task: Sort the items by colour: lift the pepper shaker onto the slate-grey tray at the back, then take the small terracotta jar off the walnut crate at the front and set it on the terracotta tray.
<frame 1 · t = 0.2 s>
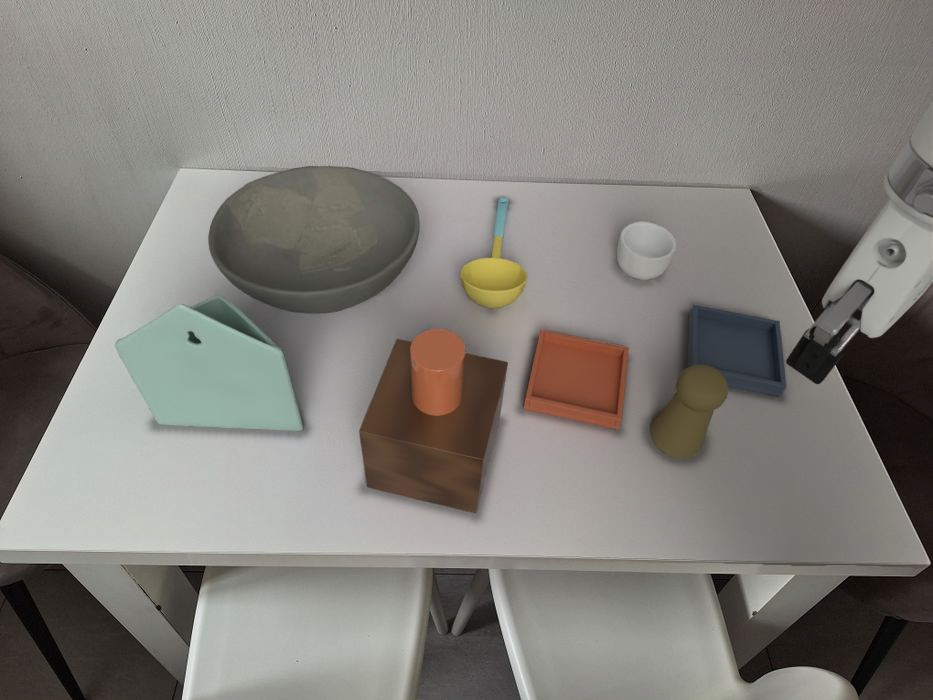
hand: (832, 344, 57), 21 cm above the table, tool pointing down, fingers open, 9 cm apart
terracotta jar: (437, 394, 64), point 11 cm above the table, touching walnut crate
planter: (239, 400, 76), on the table
terracotta tray: (576, 382, 80), on the table
ladle: (496, 256, 94), on the table
slate tray: (731, 354, 84), on the table
teacup: (637, 264, 95), on the table
bowl: (324, 278, 90), on the table
walnut crate: (435, 453, 73), on the table
pepper shaker: (675, 436, 76), on the table
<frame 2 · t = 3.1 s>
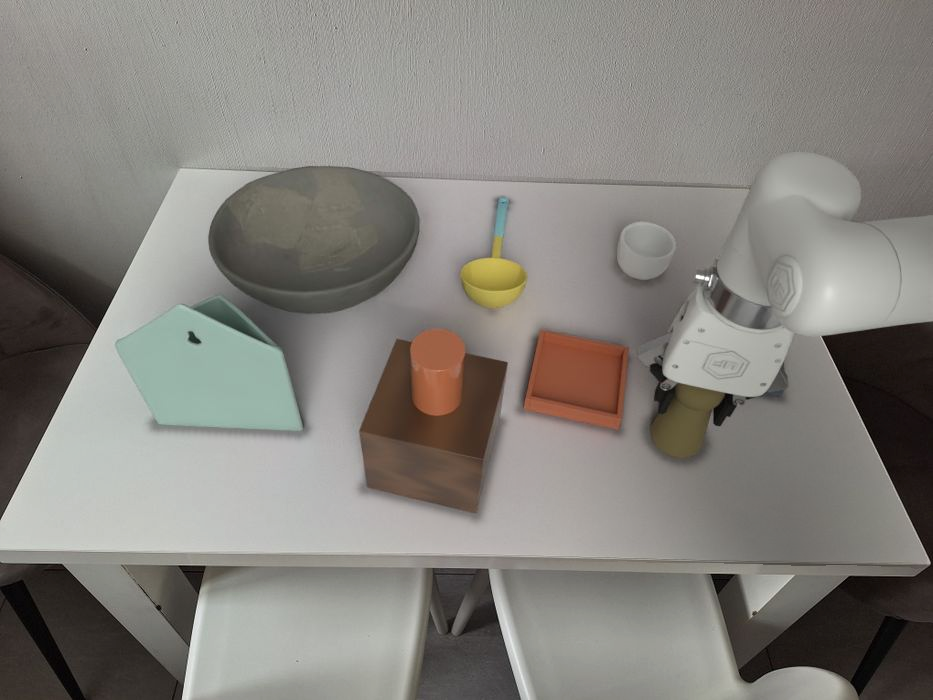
hand: (689, 408, 71), 6 cm above the table, tool pointing down, fingers closed on pepper shaker, 5 cm apart
pepper shaker: (676, 436, 76), on the table, touching gripper
everything else where it was.
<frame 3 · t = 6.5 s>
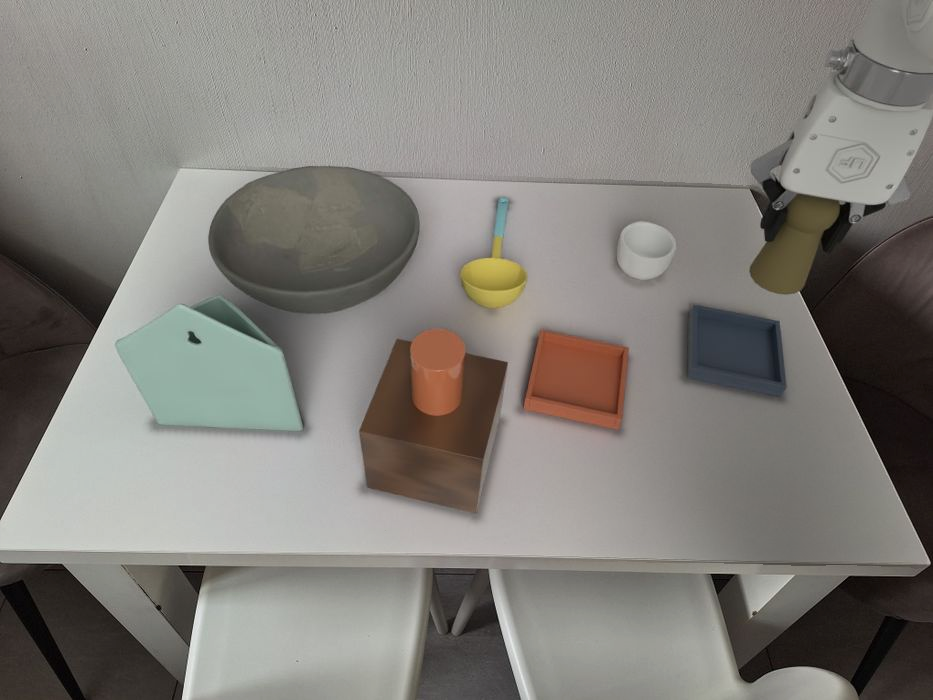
hand: (796, 237, 69), 20 cm above the table, tool pointing down, fingers closed on pepper shaker, 5 cm apart
pepper shaker: (776, 277, 74), point 14 cm above the table, touching gripper
everything else where it was.
when the fingers open (6 cm above the table, at t = 9.8 s): pepper shaker stays where it is, resting on slate tray.
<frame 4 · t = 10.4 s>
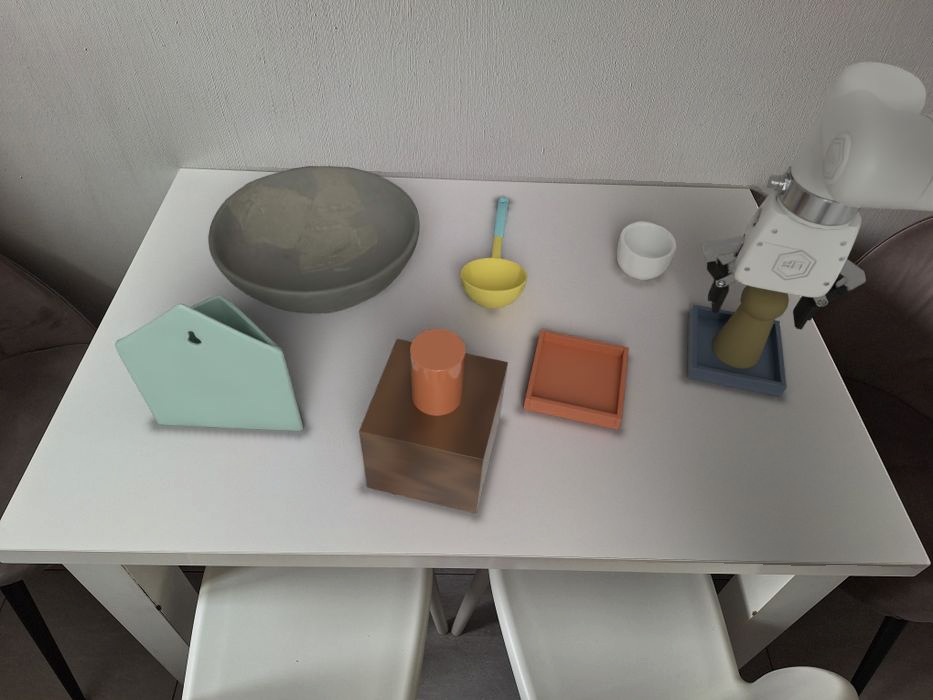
hand: (755, 312, 78), 8 cm above the table, tool pointing down, fingers open, 9 cm apart
pepper shaker: (735, 351, 84), resting on slate tray
everything else where it was.
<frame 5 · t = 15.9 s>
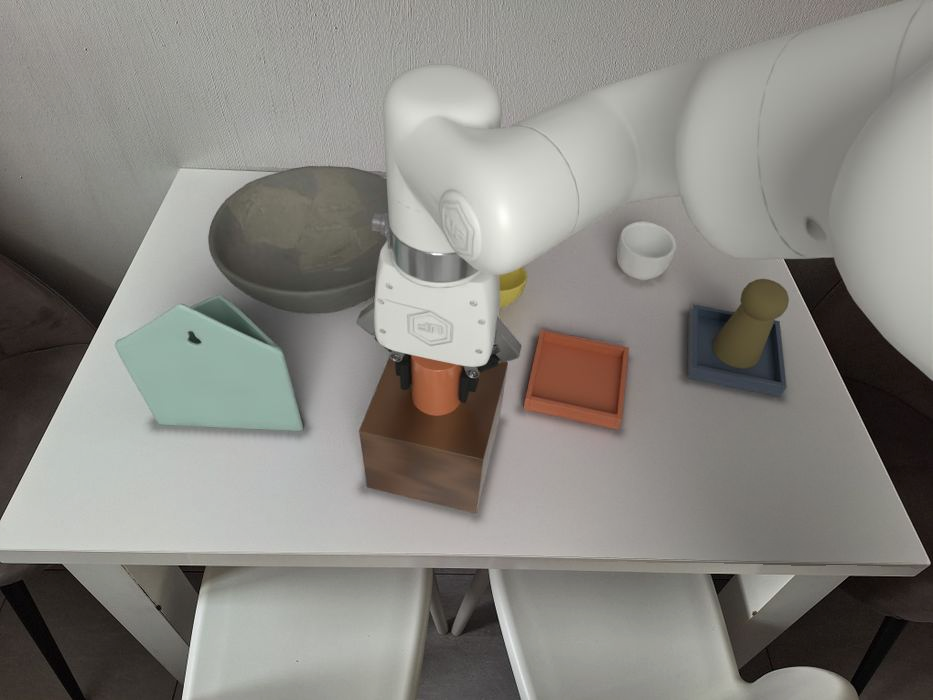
hand: (437, 383, 63), 13 cm above the table, tool pointing down, fingers closed on terracotta jar, 5 cm apart
terracotta jar: (437, 394, 64), point 11 cm above the table, touching gripper, walnut crate
everything else where it was.
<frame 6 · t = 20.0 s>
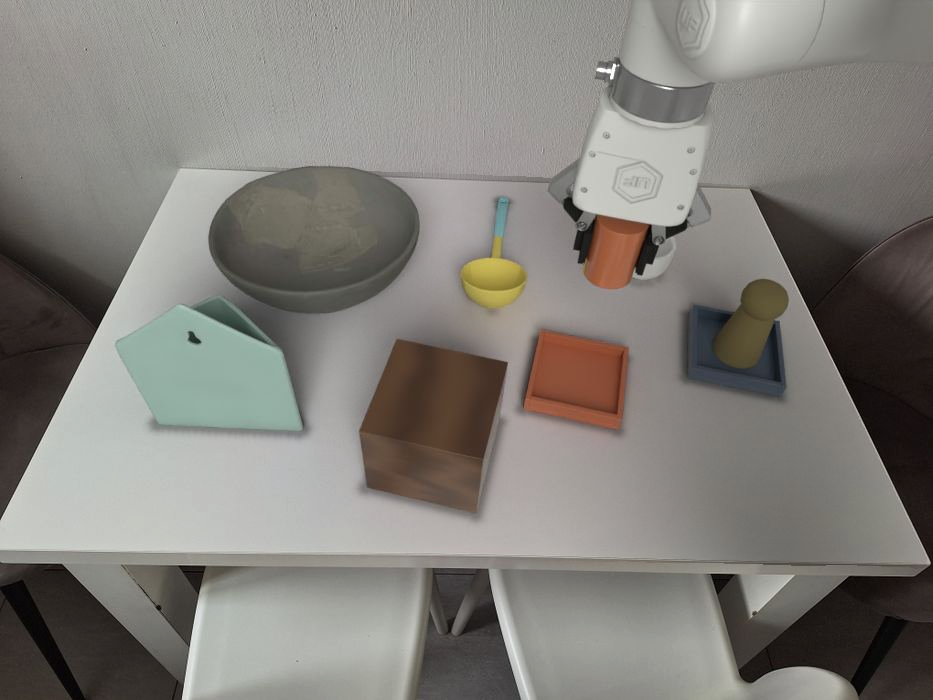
hand: (611, 258, 65), 20 cm above the table, tool pointing down, fingers closed on terracotta jar, 5 cm apart
terracotta jar: (607, 272, 66), point 18 cm above the table, touching gripper
everything else where it was.
when the fingers open (2 cm above the table, at t = 24.2 s): terracotta jar stays where it is, resting on terracotta tray.
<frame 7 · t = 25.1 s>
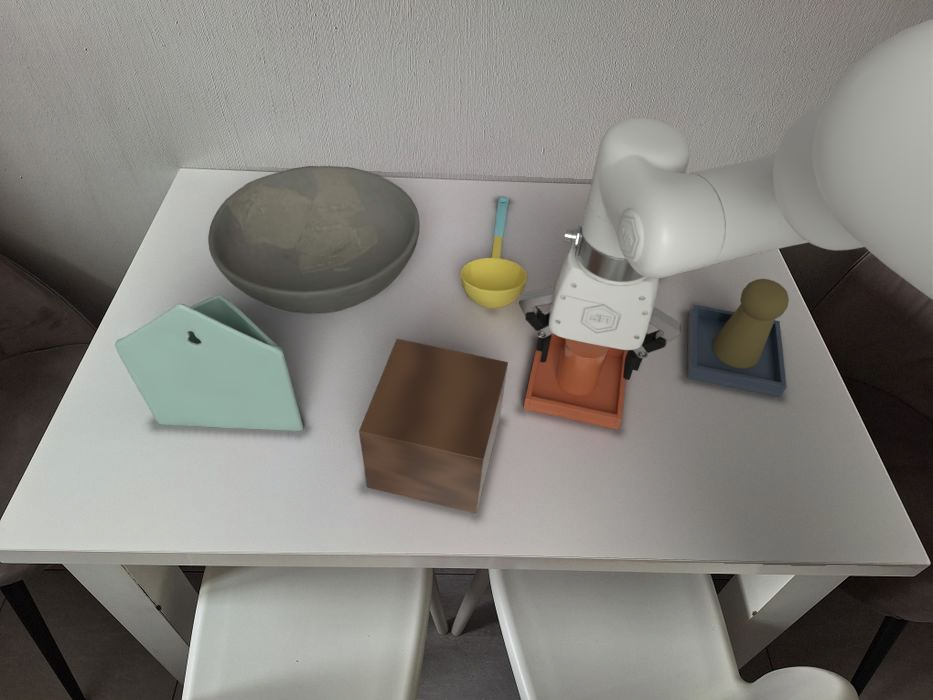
hand: (585, 361, 76), 5 cm above the table, tool pointing down, fingers open, 9 cm apart
terracotta jar: (576, 379, 80), point 1 cm above the table, touching terracotta tray
everything else where it was.
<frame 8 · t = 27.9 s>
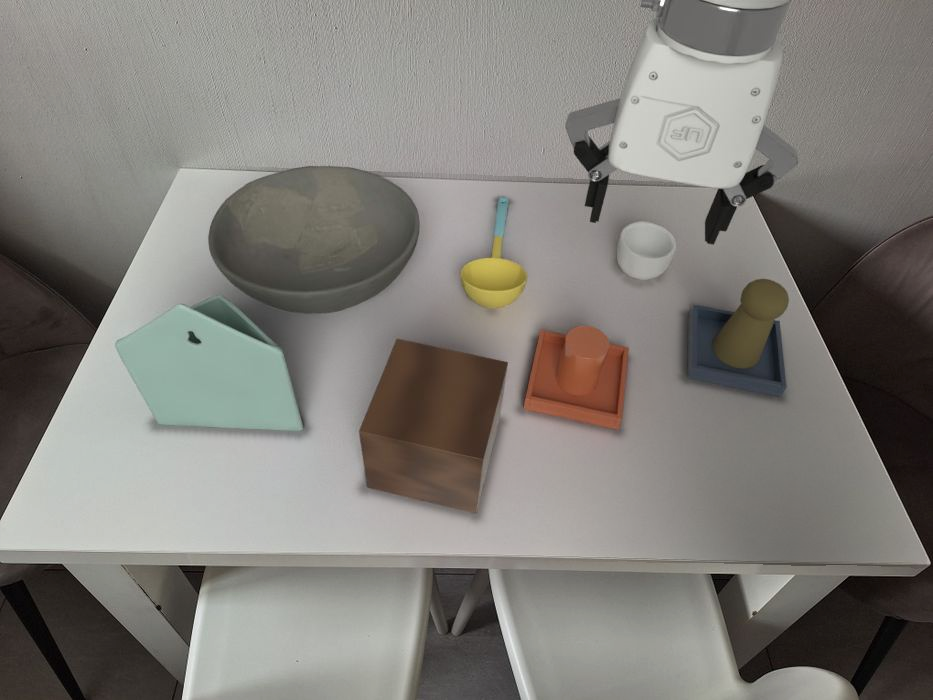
hand: (651, 223, 56), 28 cm above the table, tool pointing down, fingers open, 9 cm apart
nothing on the table moved.
at the end: pepper shaker inside the target area in the slate tray (0.4 cm from its centre), point 0.4 cm above the slate tray's base; terracotta jar inside the target area in the terracotta tray (0.1 cm from its centre), point 0.6 cm above the terracotta tray's base; pepper shaker tilted 0° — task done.
